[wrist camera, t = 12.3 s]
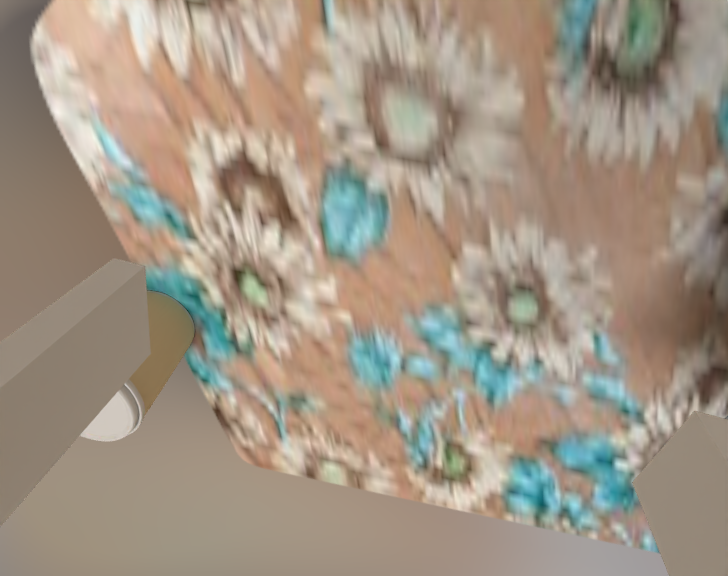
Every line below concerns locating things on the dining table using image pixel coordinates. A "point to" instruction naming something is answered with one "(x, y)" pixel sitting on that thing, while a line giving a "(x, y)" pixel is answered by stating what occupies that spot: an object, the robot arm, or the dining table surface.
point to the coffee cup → (147, 370)
